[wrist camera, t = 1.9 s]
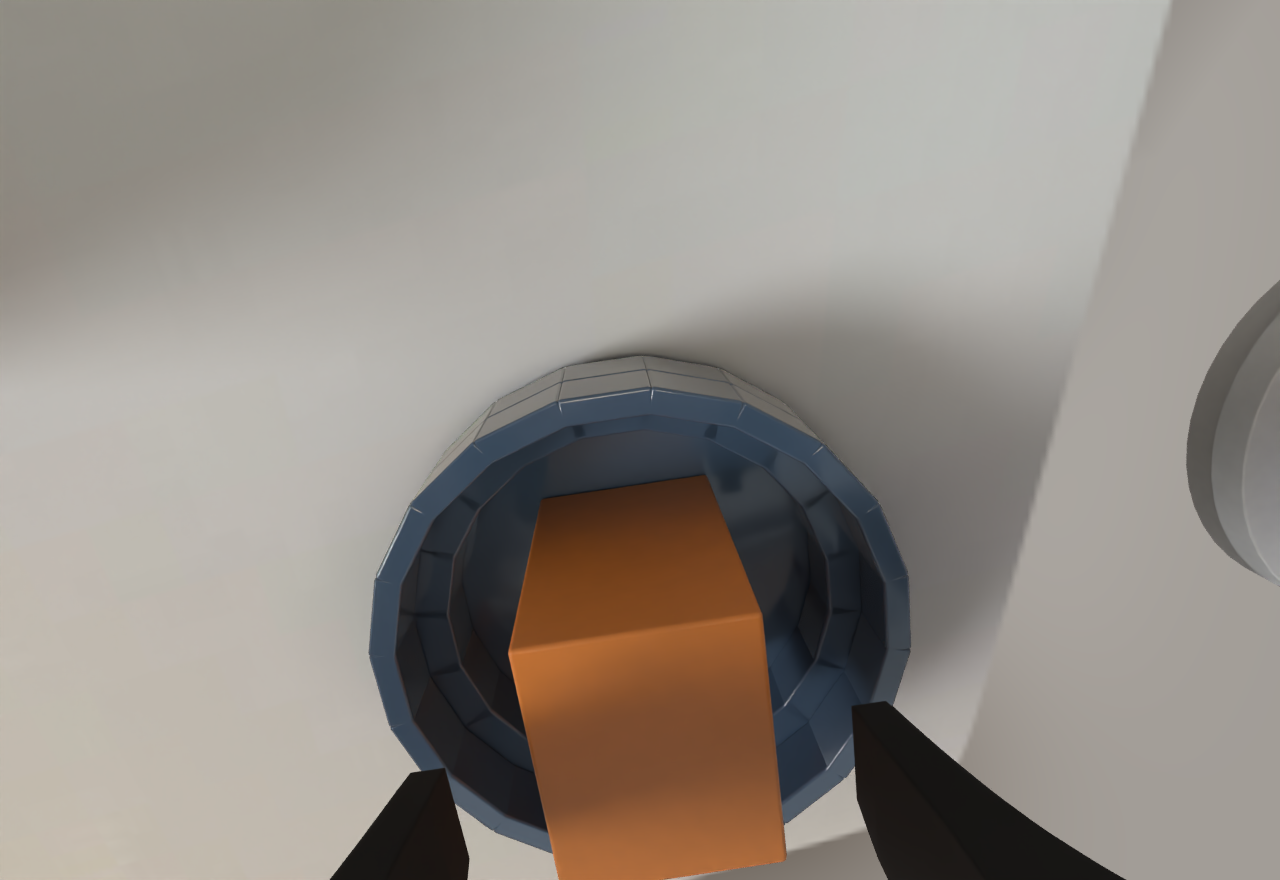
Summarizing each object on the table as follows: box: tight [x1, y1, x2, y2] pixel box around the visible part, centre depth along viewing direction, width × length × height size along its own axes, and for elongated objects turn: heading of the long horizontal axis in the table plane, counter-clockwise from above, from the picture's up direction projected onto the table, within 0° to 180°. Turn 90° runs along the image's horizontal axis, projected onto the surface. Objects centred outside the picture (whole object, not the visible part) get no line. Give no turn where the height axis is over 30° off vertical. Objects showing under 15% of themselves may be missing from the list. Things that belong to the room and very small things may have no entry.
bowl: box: [369, 356, 911, 854], centre depth 18 cm, size 12×12×4 cm
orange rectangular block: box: [508, 475, 787, 880], centre depth 17 cm, size 4×6×7 cm
